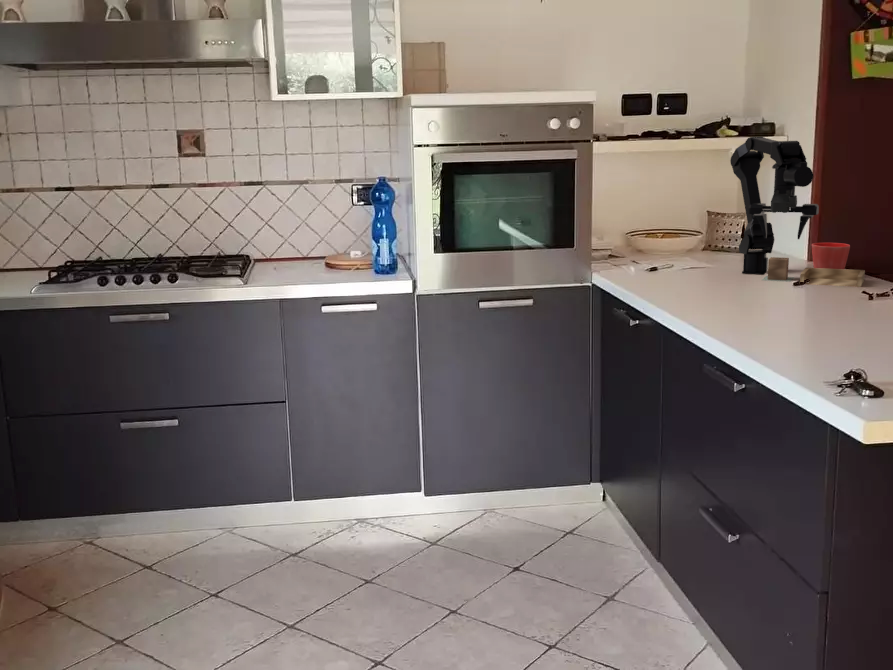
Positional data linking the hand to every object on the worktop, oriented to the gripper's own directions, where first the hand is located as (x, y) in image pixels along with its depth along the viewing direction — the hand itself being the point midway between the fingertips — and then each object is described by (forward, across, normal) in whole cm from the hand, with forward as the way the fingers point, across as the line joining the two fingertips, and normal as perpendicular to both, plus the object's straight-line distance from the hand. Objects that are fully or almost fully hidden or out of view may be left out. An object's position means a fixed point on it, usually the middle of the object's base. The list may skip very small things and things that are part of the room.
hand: (781, 238), depth 265 cm
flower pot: (+13, +12, +13) cm, 22 cm away
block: (+12, 0, 0) cm, 12 cm away
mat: (+12, 0, 0) cm, 13 cm away
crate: (+12, +14, -1) cm, 19 cm away
